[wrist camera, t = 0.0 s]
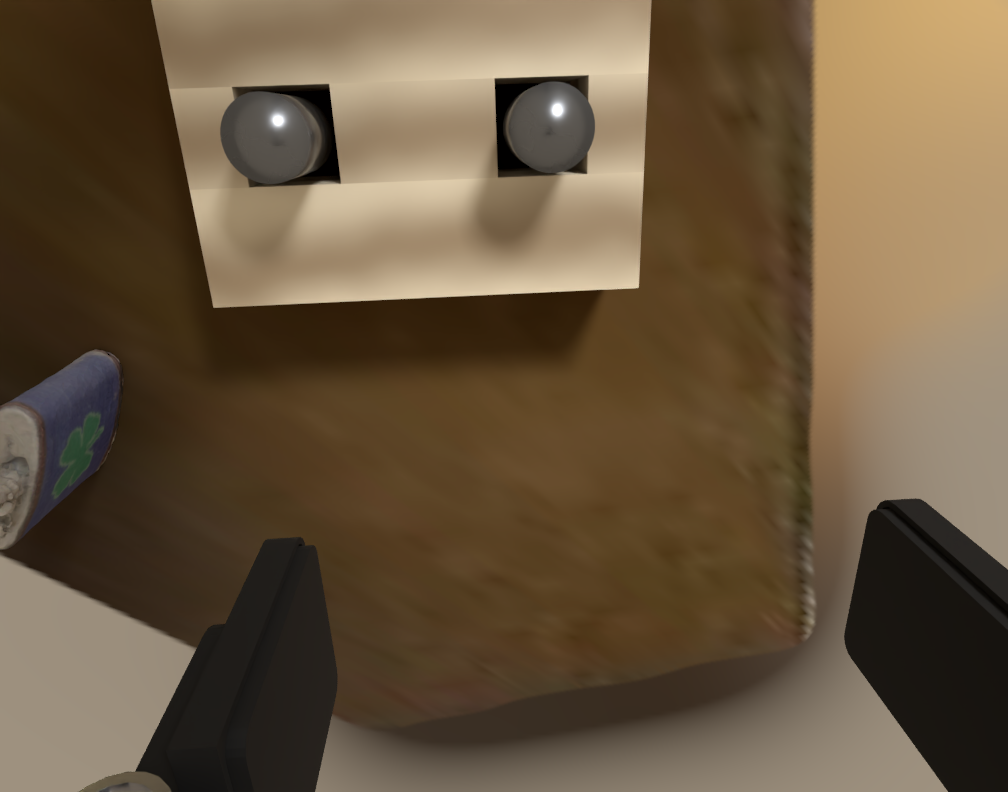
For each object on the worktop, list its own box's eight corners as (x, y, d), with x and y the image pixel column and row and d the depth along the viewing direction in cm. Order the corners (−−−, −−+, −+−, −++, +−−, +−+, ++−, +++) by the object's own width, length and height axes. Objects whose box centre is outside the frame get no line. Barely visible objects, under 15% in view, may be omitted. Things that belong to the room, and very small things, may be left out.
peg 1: (251, 97, 32) (212, 92, 27) (327, 94, 32) (302, 89, 27) (264, 175, 34) (229, 185, 28) (337, 173, 34) (315, 182, 29)
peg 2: (501, 88, 33) (509, 82, 28) (575, 86, 33) (595, 80, 28) (504, 166, 34) (511, 174, 29) (574, 164, 34) (594, 171, 29)
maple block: (191, -33, 34) (138, -63, 28) (623, -44, 35) (654, -75, 29) (248, 282, 40) (213, 307, 34) (614, 265, 41) (638, 287, 35)
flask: (86, 341, 41) (-34, 413, 31) (135, 359, 41) (34, 435, 31) (57, 466, 44) (-60, 568, 34) (104, 481, 44) (2, 585, 34)
